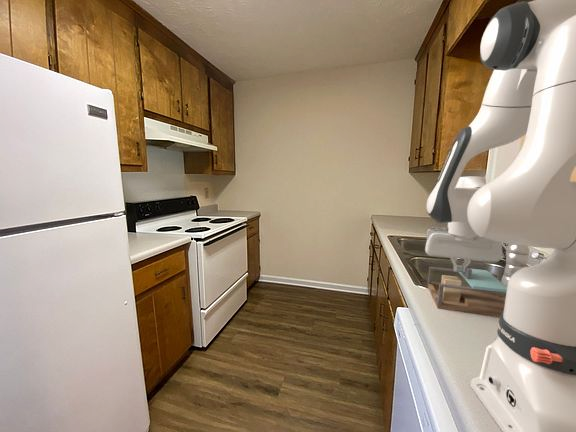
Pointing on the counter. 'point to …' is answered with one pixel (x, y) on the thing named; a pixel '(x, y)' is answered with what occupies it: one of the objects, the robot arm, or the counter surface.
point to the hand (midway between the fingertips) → (459, 271)
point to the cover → (483, 280)
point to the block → (451, 289)
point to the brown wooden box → (467, 298)
